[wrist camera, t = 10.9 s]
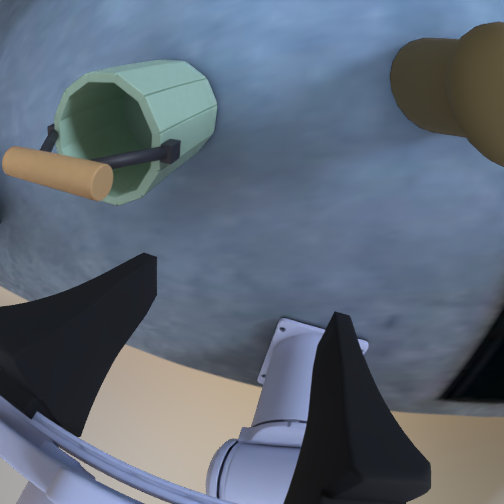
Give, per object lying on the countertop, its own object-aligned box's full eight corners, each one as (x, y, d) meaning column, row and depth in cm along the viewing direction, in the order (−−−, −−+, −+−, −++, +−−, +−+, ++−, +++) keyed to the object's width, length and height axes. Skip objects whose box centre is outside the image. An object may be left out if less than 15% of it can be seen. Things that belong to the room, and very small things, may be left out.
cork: (375, 105, 16) (426, 135, 7) (407, 20, 13) (484, -35, 4) (458, 150, 16) (555, 228, 7) (490, 70, 13) (609, 86, 3)
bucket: (218, 170, 21) (124, 275, 12) (117, 147, 22) (4, 223, 13) (234, 67, 16) (115, 95, 8) (120, 57, 17) (-18, 95, 9)
